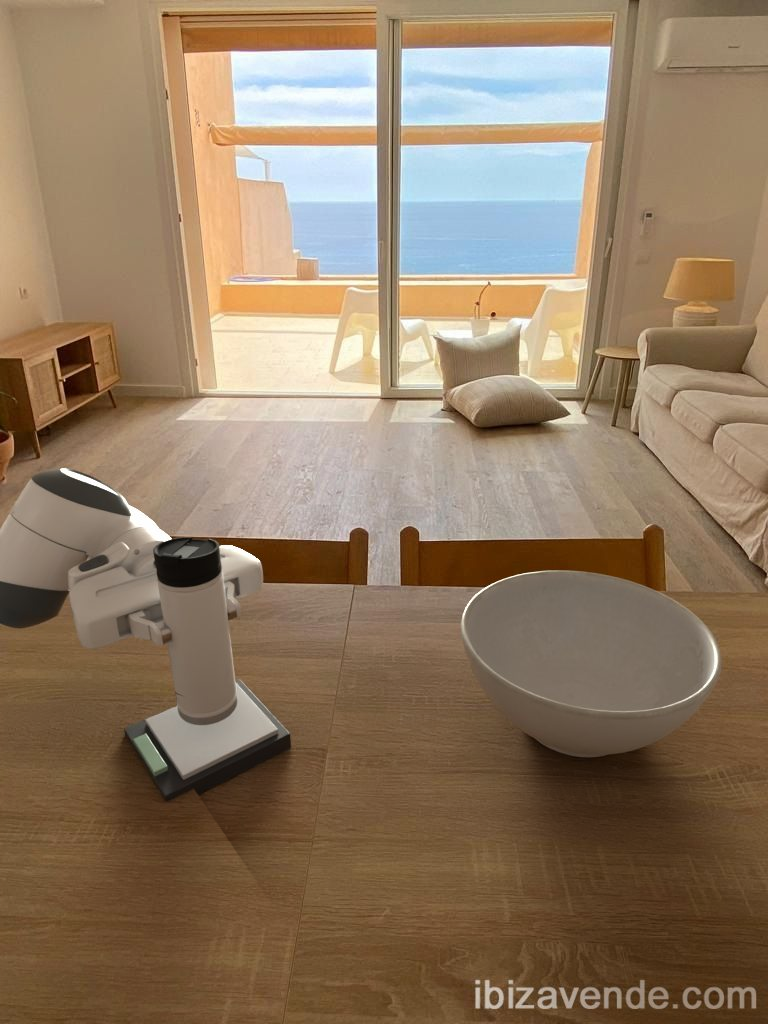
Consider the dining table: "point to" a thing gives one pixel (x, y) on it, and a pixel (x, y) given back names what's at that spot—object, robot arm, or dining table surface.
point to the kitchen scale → (206, 745)
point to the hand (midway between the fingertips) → (200, 625)
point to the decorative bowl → (589, 659)
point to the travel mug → (197, 628)
